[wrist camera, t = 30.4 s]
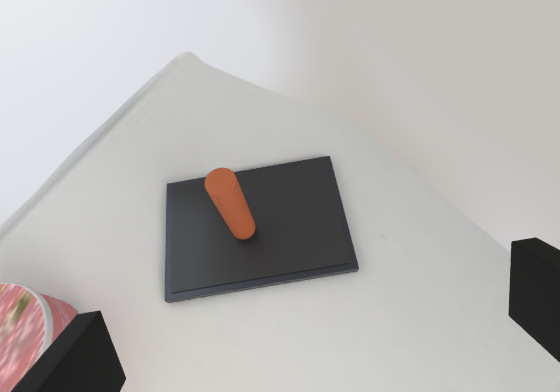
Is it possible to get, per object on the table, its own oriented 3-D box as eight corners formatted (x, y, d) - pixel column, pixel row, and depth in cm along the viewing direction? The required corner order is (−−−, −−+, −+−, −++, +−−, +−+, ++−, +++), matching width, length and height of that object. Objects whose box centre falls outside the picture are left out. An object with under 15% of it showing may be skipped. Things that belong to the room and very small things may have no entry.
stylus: (255, 218, 37) (234, 165, 28) (258, 240, 36) (237, 192, 26) (232, 222, 37) (203, 170, 28) (234, 244, 36) (204, 198, 26)
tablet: (329, 160, 41) (329, 154, 40) (358, 271, 35) (359, 268, 34) (169, 187, 42) (166, 182, 41) (168, 303, 35) (163, 301, 34)
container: (121, 318, 35) (72, 305, 28) (60, 434, 30) (-17, 454, 23) (42, 286, 37) (-22, 266, 30) (-24, 389, 33) (-117, 394, 26)
